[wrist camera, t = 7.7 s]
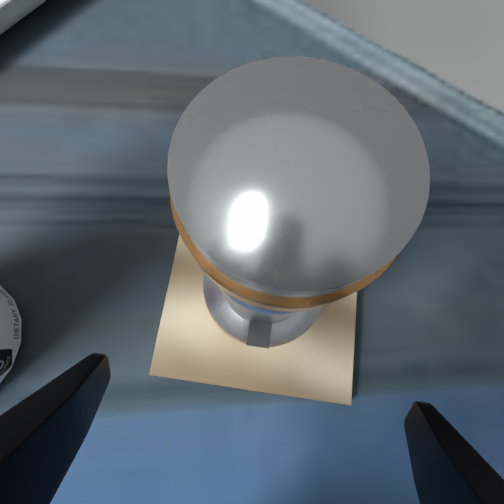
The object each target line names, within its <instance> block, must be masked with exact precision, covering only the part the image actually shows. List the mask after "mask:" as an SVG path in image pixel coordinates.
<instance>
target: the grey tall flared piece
mask: <svg viewBox="0 0 504 504" xmlns="http://www.w3.org/2000/svg"><path fill="white" fill-rule="evenodd" d="M167 176H168V184H169V190H170V201H171V209H172V213H173V217H174V221H175V224H176V227H177V229H178V231H179V234H180V236H181V238H182V240H183V242H184V243H185V245H186V247H187V248H188V250H189V251H190V253H191V254H192V256H193V257H194V259H195V260H196V262H197V263H198V265H199V266H200V268H201V269H202V270H203V271H204V277H203V290H204V297H205V300H206V304H207V306H208V308H209V311H210V313H211V314H212V316H213V318H214V319H215V320H216V322H217V323H218V324H219V325H220V326H221V327H222V328H223V329H224V330H225V331H226V332H228V333H229V334H230V335H232V336H233V337H235V338H237V339H239V340H241V341H244V342H247V344H246V345H249V346H255V347H262V348H269V345H277V344H282V343H285V342H288V341H290V340H292V339H294V338H296V337H298V336H300V335H301V334H302V333H304V332H305V331H306V330H307V329H308V328H309V327H311V325H312V324H313V323H314V322H315V321H316V319H317V317H318V316H319V314H320V312H321V310H322V308H323V306H325V305H328V304H331V303H333V302H335V301H338V300H340V299H342V298H344V297H347V296H349V295H351V294H353V293H355V292H357V291H359V290H361V289H363V288H364V287H365V286H367V285H368V284H370V283H371V282H373V281H374V280H375V279H377V278H378V277H379V276H380V275H381V274H382V273H383V272H384V271H385V270H386V269H387V268H388V267H389V266H390V265H391V263H392V262H393V261H394V260H395V258H396V257H397V256H398V254H399V253H400V252H401V251H402V250H403V248H404V247H405V246H406V245H407V243H408V242H409V241H410V240H411V238H412V237H413V235H414V233H415V232H416V230H417V228H418V226H419V225H420V223H421V220H422V217H423V215H424V212H425V210H426V206H427V201H428V197H429V190H430V168H429V160H428V156H427V152H426V147H425V145H424V142H423V140H422V137H421V134H420V132H419V130H418V128H417V127H416V125H415V123H414V121H413V119H412V118H411V117H410V115H409V114H408V112H407V111H406V110H405V108H404V107H403V106H402V105H401V104H400V103H399V102H398V100H397V99H396V98H395V97H394V96H393V95H392V94H390V93H389V92H388V91H387V90H386V89H385V88H383V87H382V86H381V85H380V84H378V83H377V82H375V81H374V80H372V79H371V78H369V77H367V76H366V75H364V74H362V73H360V72H358V71H356V70H354V69H351V68H349V67H346V66H344V65H341V64H338V63H335V62H331V61H328V60H323V59H317V58H312V57H299V56H288V57H275V58H268V59H262V60H259V61H255V62H251V63H248V64H245V65H242V66H240V67H237V68H235V69H233V70H231V71H229V72H227V73H225V74H223V75H222V76H220V77H219V78H217V79H216V80H214V81H213V82H211V83H210V84H209V85H208V86H206V87H205V88H204V89H203V90H202V91H201V92H200V93H199V94H198V95H197V96H196V97H195V98H194V99H193V100H192V101H191V103H190V104H189V105H188V107H187V108H186V110H185V111H184V113H183V114H182V115H181V117H180V119H179V121H178V123H177V125H176V128H175V130H174V133H173V136H172V139H171V142H170V147H169V153H168V159H167Z"/></svg>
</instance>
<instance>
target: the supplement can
mask: <svg viewBox="0 0 504 504" xmlns="http://www.w3.org/2000/svg"><path fill="white" fill-rule="evenodd" d="M21 320H22V319H21V317H20V314H19V311H18V309H17V306H16V303H15V300H14V299H13V298H12V297H11V296H10V295H9V294H8V293H7V292H6V291H5V290H4V288H3V287H2V286H1V285H0V383H1V382H2V380H3V379H4V378H5V376H6V375H7V374H8V372H9V371H10V370H11V368H12V366H13V363H14V361H15V358H16V355H17V353H18V350H19V347H20V344H21Z"/></svg>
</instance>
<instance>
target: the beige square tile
mask: <svg viewBox="0 0 504 504" xmlns="http://www.w3.org/2000/svg"><path fill="white" fill-rule="evenodd" d="M203 277H204V271H203V270H202V269H201V268H200V266H199V265H198V263H197V262H196V260H195V259H194V257H193V256H192V254H191V253H190V251H189V250H188V248H187V247H186V245H185V243H184V242H183V240H182V238H181V236H180V234H179V238H178V243H177V248H176V252H175V257H174V261H173V266H172V271H171V275H170V280H169V285H168V289H167V294H166V299H165V303H164V308H163V312H162V317H161V322H160V326H159V331H158V336H157V340H156V345H155V350H154V354H153V359H152V363H151V368H150V373H149V375H154V376H160V377H167V378H174V379H180V380H187V381H193V382H200V383H206V384H213V385H220V386H226V387H233V388H239V389H246V390H253V391H259V392H266V393H272V394H279V395H286V396H292V397H299V398H305V399H312V400H319V401H325V402H332V403H338V404H345V405H351V399H352V380H353V360H354V341H355V322H356V302H357V292H355V293H353V294H351V295H349V296H347V297H344V298H342V299H340V300H338V301H335V302H333V303H331V304H328V305H325V306H323V308H322V310H321V312H320V314H319V316H318V317H317V319H316V321H315V322H314V323H313V324H312V325H311V327H309V328H308V329H307V330H306V331H305V332H304V333H302V334H301V335H300V336H298V337H296V338H294V339H292V340H290V341H288V342H285V343H282V344H277V345H269V348H262V347H255V346H249V345H246V344H247V342H244V341H241V340H239V339H237V338H235V337H233V336H232V335H230V334H229V333H228V332H226V331H225V330H224V329H223V328H222V327H221V326H220V325H219V324H218V323H217V322H216V320H215V319H214V318H213V316H212V314H211V313H210V311H209V308H208V306H207V304H206V300H205V297H204V290H203Z"/></svg>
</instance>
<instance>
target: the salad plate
mask: <svg viewBox="0 0 504 504" xmlns="http://www.w3.org/2000/svg"><path fill="white" fill-rule="evenodd" d="M45 1H46V0H0V35H1V34H2V33H3V32H5V31H6V30H7V29H9V28H10V27H11V26H13V25H14V24H15V23H17V22H18V21H19V20H21V19H22V18H23V17H25V16H26V15H28V14H29V13H30V12H32V11H33V10H34V9H36V8H37V7H38V6H40V5H41V4H42V3H44V2H45Z"/></svg>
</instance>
